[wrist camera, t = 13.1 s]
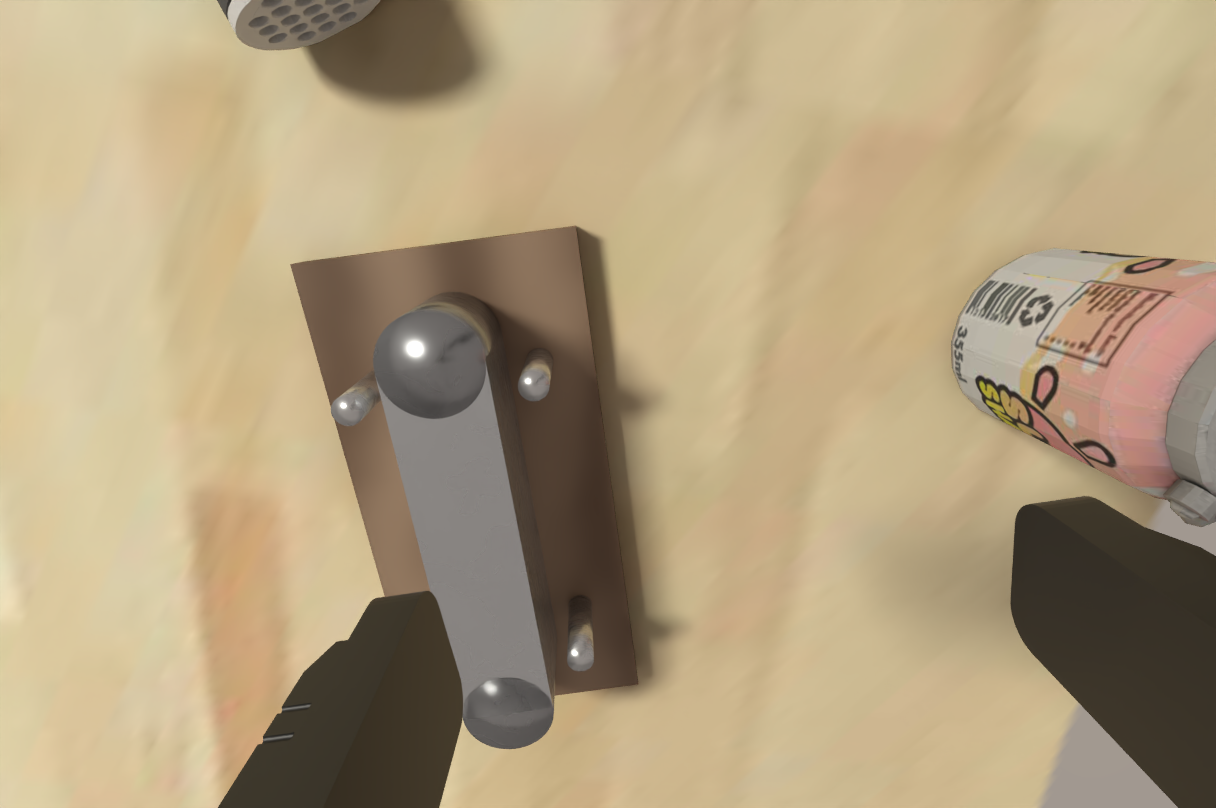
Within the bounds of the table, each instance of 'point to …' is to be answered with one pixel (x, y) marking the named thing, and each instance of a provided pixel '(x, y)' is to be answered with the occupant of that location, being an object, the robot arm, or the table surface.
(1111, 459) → the beverage can
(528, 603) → the grey long metal bar
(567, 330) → the tool rest
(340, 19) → the flashlight
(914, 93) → the table surface
